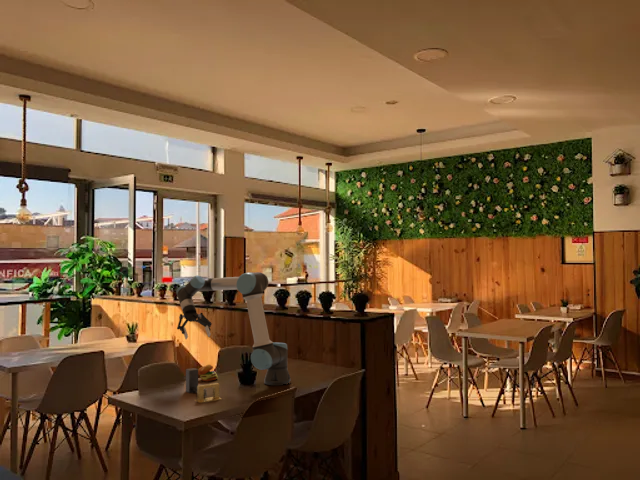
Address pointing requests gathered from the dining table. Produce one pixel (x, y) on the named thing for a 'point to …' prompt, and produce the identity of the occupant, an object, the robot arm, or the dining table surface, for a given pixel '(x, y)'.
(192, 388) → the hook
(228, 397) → the dining table surface
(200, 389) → the eye bracket
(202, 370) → the cheeseburger
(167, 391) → the dining table surface
